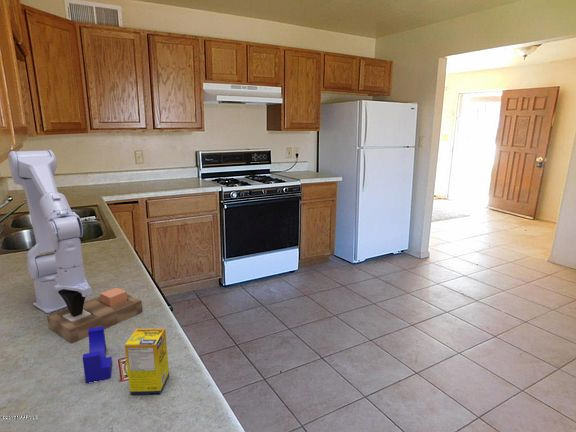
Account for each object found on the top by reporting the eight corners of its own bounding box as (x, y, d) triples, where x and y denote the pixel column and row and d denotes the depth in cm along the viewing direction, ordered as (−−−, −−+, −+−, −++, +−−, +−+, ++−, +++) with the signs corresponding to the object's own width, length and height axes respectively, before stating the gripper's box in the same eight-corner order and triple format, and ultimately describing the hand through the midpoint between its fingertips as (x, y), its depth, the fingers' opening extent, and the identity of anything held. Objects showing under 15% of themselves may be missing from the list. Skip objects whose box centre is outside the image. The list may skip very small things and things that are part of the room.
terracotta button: (101, 305, 102) (100, 293, 101) (117, 298, 106) (116, 287, 105) (110, 309, 100) (109, 297, 99) (127, 303, 103) (126, 291, 103)
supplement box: (169, 374, 77) (165, 327, 75) (161, 394, 72) (156, 344, 69) (140, 375, 77) (136, 327, 75) (129, 395, 71) (124, 344, 69)
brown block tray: (48, 327, 95) (46, 315, 94) (118, 300, 110) (117, 289, 110) (71, 343, 88) (69, 329, 88) (142, 312, 104) (141, 300, 103)
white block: (64, 328, 95) (62, 315, 94) (83, 320, 99) (81, 308, 98) (73, 334, 92) (71, 321, 91) (92, 326, 96) (91, 313, 95)
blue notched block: (110, 379, 76) (107, 353, 75) (86, 384, 75) (82, 358, 73) (113, 348, 87) (110, 324, 86) (91, 352, 85) (88, 328, 84)
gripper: (39, 263, 92) (46, 313, 96) (67, 276, 84) (74, 330, 87) (68, 255, 98) (75, 303, 101) (97, 267, 90) (103, 318, 93)
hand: (76, 315), depth 95 cm, fingers closed, pressing on white block
